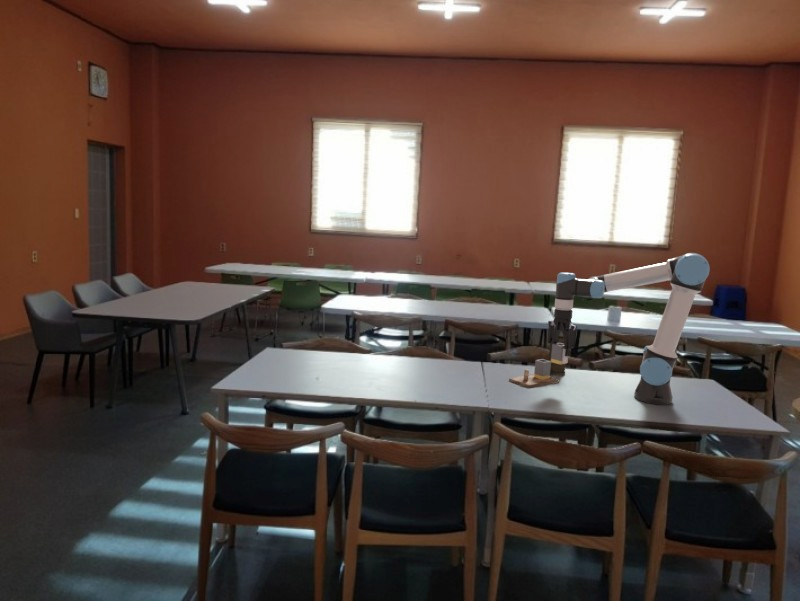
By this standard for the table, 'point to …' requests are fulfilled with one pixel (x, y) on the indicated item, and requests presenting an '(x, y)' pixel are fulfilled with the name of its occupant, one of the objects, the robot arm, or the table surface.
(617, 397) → the table surface
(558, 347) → the sleeve
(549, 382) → the pin board
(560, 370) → the container
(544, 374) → the sleeve
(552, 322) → the robot arm
